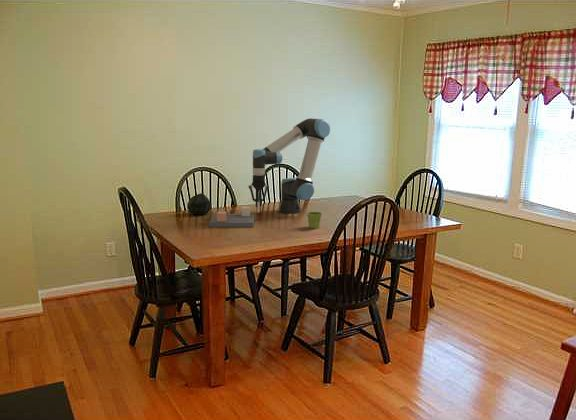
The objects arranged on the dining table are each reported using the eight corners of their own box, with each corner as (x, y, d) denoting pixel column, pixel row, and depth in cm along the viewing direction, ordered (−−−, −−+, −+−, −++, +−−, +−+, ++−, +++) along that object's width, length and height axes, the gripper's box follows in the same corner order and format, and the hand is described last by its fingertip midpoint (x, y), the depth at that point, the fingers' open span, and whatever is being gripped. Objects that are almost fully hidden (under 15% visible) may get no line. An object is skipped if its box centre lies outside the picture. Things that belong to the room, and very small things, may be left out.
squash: (184, 204, 337) (188, 189, 326) (206, 203, 343) (210, 189, 332) (187, 221, 329) (191, 207, 318) (210, 220, 335) (214, 206, 324)
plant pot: (311, 229, 295) (311, 215, 293) (303, 226, 303) (303, 212, 301) (324, 228, 299) (325, 214, 297) (316, 225, 307) (317, 211, 305)
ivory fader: (250, 214, 318) (250, 206, 317) (249, 216, 313) (249, 208, 312) (242, 214, 318) (242, 206, 317) (241, 216, 312) (241, 208, 311)
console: (254, 218, 321) (254, 213, 321) (253, 227, 298) (253, 222, 297) (212, 218, 320) (212, 213, 319) (209, 227, 296) (209, 222, 296)
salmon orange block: (226, 219, 303) (226, 211, 302) (225, 221, 297) (225, 213, 296) (217, 219, 303) (217, 211, 302) (217, 221, 297) (217, 213, 296)
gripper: (269, 173, 315) (268, 210, 319) (248, 173, 314) (248, 210, 319) (269, 175, 307) (269, 213, 312) (248, 175, 307) (247, 213, 311)
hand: (258, 212), depth 315 cm, fingers closed
